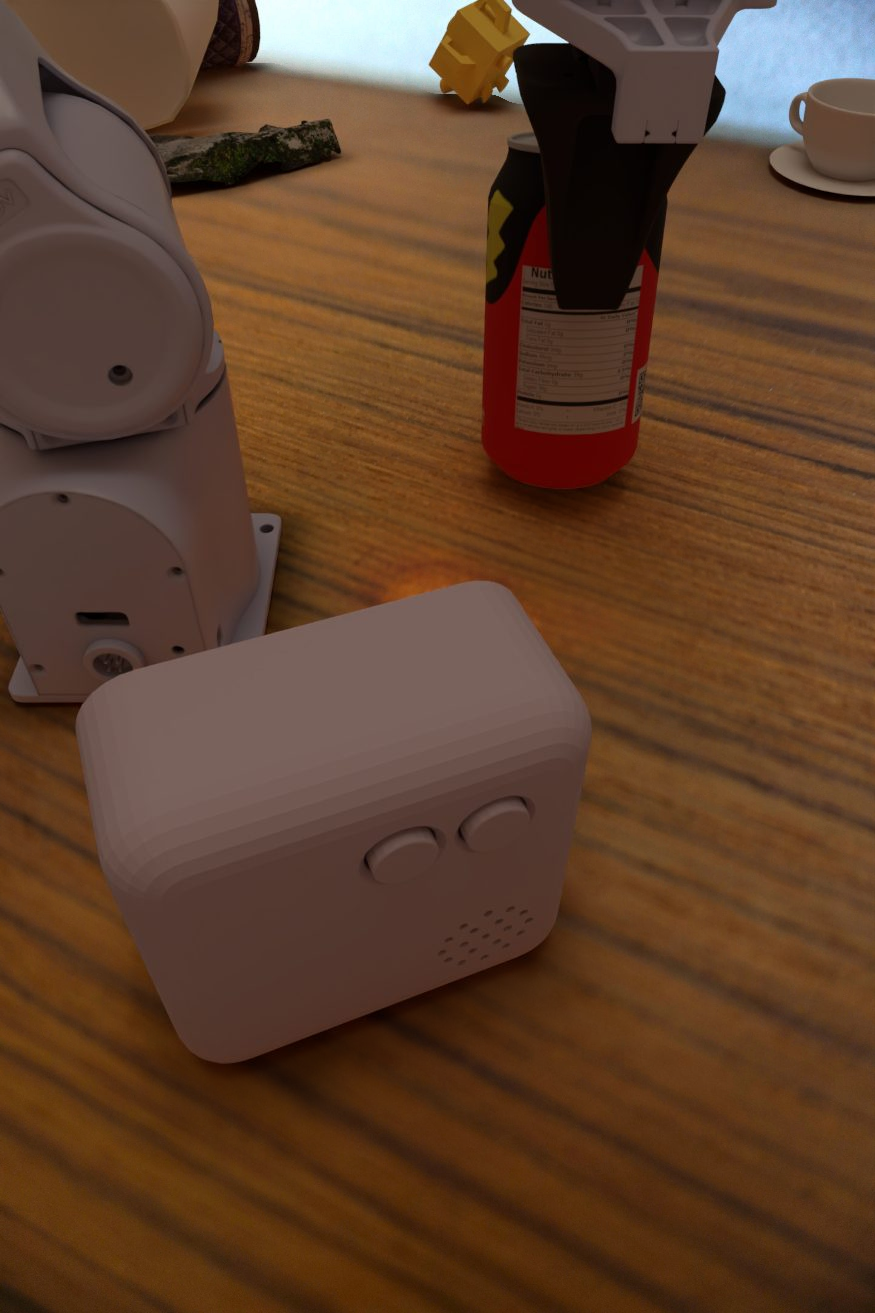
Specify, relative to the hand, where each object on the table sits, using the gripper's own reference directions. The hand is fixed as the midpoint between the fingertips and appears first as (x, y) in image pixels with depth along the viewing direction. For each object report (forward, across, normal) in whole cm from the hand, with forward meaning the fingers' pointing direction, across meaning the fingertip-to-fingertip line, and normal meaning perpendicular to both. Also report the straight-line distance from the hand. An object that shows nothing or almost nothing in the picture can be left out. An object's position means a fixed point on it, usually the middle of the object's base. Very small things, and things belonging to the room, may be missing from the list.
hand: (586, 300), depth 32 cm
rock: (+8, +32, +20) cm, 38 cm away
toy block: (+8, +50, 0) cm, 50 cm away
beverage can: (+8, +2, 0) cm, 9 cm away
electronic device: (+9, -19, +7) cm, 22 cm away
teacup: (+9, +36, -22) cm, 44 cm away
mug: (+6, +55, +31) cm, 63 cm away
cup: (-2, +56, +22) cm, 60 cm away
